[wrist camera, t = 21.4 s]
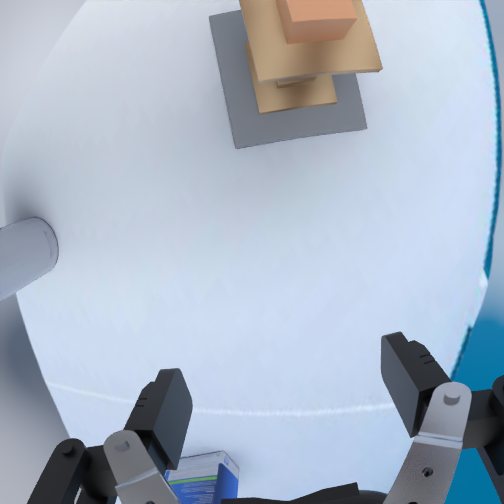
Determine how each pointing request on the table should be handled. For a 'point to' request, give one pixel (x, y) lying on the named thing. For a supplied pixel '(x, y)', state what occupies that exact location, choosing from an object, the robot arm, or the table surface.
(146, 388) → the robot arm
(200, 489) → the string lights box
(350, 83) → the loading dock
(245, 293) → the table surface
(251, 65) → the wooden pedestal
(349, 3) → the cube
